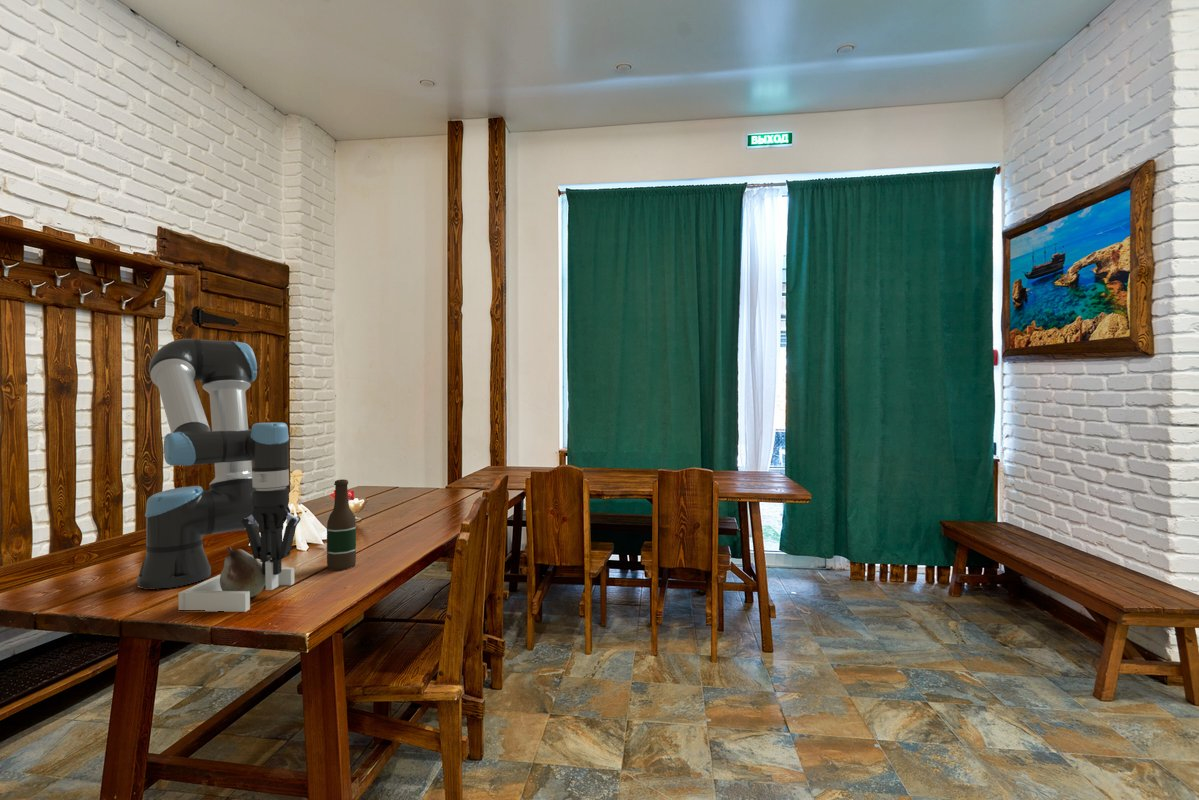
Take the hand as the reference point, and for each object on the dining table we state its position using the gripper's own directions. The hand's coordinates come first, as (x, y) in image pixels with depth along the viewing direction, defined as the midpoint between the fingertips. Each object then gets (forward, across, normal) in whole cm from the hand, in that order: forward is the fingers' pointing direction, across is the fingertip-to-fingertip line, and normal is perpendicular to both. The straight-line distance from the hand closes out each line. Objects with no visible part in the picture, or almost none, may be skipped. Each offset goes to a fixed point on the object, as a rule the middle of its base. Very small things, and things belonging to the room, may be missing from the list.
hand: (272, 588), depth 134 cm
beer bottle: (+2, +5, +24) cm, 25 cm away
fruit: (+2, -6, 0) cm, 7 cm away
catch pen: (+2, -7, 0) cm, 7 cm away
